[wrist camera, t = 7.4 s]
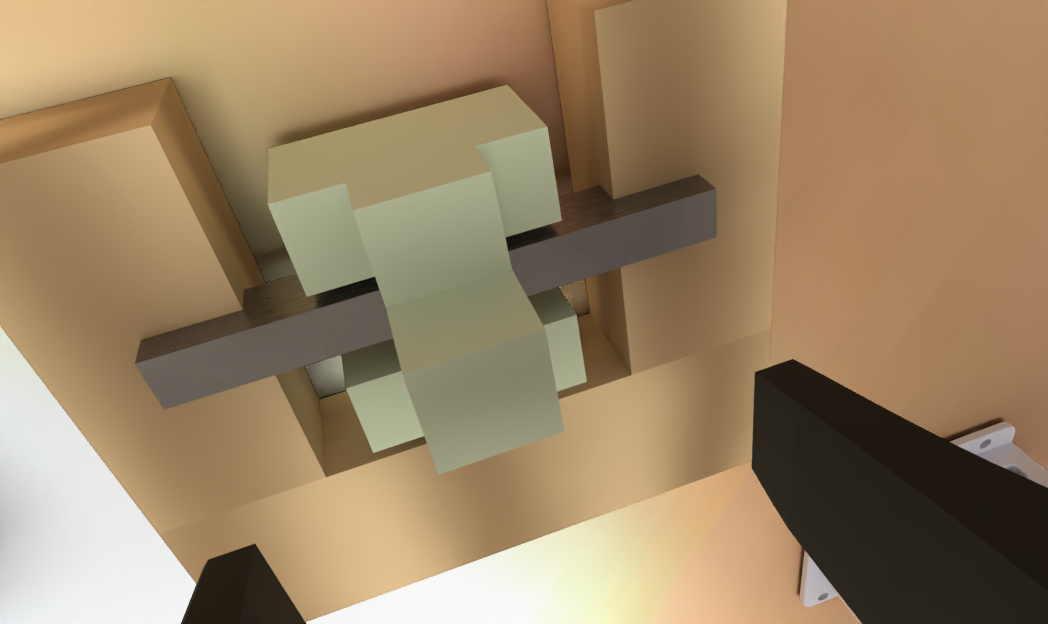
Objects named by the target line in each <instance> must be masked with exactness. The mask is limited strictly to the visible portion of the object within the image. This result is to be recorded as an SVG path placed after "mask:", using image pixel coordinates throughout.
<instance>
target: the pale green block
mask: <svg viewBox="0 0 1048 624" xmlns="http://www.w3.org/2000/svg"><path fill="white" fill-rule="evenodd" d="M267 205H268V207H269V209H270V212H271V214H272V216H273V219H274V221H275V223H276V226H277V228H278V230H279V233H280V235H281V238H282V240H283V242H284V245H285V247H286V249H287V252H288V254H289V256H290V259H291V261H292V263H293V266H294V268H295V270H296V273H297V275H298V277H299V280H300V282H301V284H302V287H303V289H304V291H305V294H306V296H307V297H308V296H311V295H315V294H318V293H321V292H325V291H328V290H331V289H335V288H338V287H341V286H345V285H348V284H351V283H355V282H358V281H361V280H365V279H368V278H371V277H375V278H376V281H377V284H378V287H379V289H380V292H381V295H382V298H383V301H384V304H385V307H386V310H387V314H388V318H389V322H390V326H391V331H392V335H393V338H392V339H389V340H386V341H383V342H380V343H376V344H373V345H370V346H367V347H364V348H360V349H357V350H354V351H351V352H348V353H344V354H341V356H342V363H343V371H344V378H345V385H346V390H347V392H348V395H349V397H350V399H351V402H352V404H353V406H354V409H355V411H356V413H357V416H358V418H359V420H360V423H361V425H362V427H363V430H364V432H365V434H366V437H367V439H368V442H369V444H370V446H371V449H372V451H373V453H375V452H378V451H381V450H384V449H387V448H390V447H393V446H396V445H399V444H402V443H405V442H408V441H411V440H414V439H417V438H420V437H423V436H424V437H425V440H426V442H427V445H428V448H429V451H430V454H431V456H432V459H433V462H434V465H435V468H436V470H437V473H438V475H440V474H443V473H446V472H448V471H451V470H454V469H457V468H460V467H463V466H466V465H469V464H472V463H475V462H478V461H481V460H484V459H486V458H489V457H492V456H495V455H498V454H501V453H504V452H507V451H510V450H513V449H516V448H519V447H521V446H524V445H527V444H530V443H533V442H536V441H539V440H542V439H545V438H548V437H551V436H554V435H557V434H559V433H562V432H565V430H564V425H563V420H562V415H561V409H560V404H559V399H558V393H557V391H560V390H563V389H566V388H569V387H572V386H575V385H578V384H581V383H584V382H587V380H586V373H585V367H584V360H583V354H582V347H581V341H580V334H579V328H578V321H577V315H576V313H575V312H574V310H573V309H572V307H571V306H570V304H569V302H568V301H567V299H566V298H565V296H564V295H563V293H562V292H561V290H560V288H559V287H556V288H553V289H549V290H546V291H543V292H540V293H537V294H533V295H530V296H527V295H526V294H525V292H524V290H523V288H522V286H521V285H520V283H519V281H518V279H517V277H516V276H515V274H514V272H513V270H512V267H511V262H510V257H509V253H508V248H507V243H506V238H505V237H509V236H512V235H515V234H519V233H522V232H525V231H529V230H532V229H535V228H539V227H542V226H545V225H549V224H552V223H555V222H559V221H562V218H561V211H560V205H559V198H558V192H557V185H556V179H555V172H554V166H553V159H552V153H551V147H550V140H549V134H548V127H547V126H546V124H545V123H544V122H543V121H542V120H541V119H540V118H539V117H538V116H537V115H536V114H535V113H534V112H533V111H532V110H531V109H530V108H529V107H528V106H527V105H526V104H525V103H524V102H523V100H522V99H521V98H520V97H519V96H518V95H517V94H516V93H515V92H514V91H513V90H512V89H511V88H510V87H509V86H508V85H504V86H500V87H497V88H493V89H489V90H486V91H482V92H478V93H474V94H471V95H467V96H463V97H459V98H456V99H452V100H448V101H444V102H441V103H437V104H433V105H430V106H426V107H422V108H418V109H415V110H411V111H407V112H403V113H400V114H396V115H392V116H389V117H385V118H381V119H377V120H374V121H370V122H366V123H362V124H359V125H355V126H351V127H347V128H344V129H340V130H336V131H333V132H329V133H325V134H321V135H318V136H314V137H310V138H306V139H303V140H299V141H295V142H292V143H288V144H284V145H280V146H277V147H273V148H269V149H268V198H267Z"/></svg>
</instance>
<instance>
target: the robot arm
mask: <svg viewBox="0 0 1048 624" xmlns="http://www.w3.org/2000/svg"><path fill="white" fill-rule="evenodd" d="M1014 434H1015V428H1014V426H1012V425H1011V424H1010V423H1008V422H1000V423H998V424H995V425H992V426H990V427H987V428H984V429H982V430H979V431H976V432H974V433H971V434H968V435H966V436H963V437H960V438H958V439H955V440H952V441H950V442H949V441H947V440H945V439H943V438H941V437H939V436H937V435H935V434H933V433H931V432H929V431H927V430H925V429H923V428H921V427H919V426H917V425H915V424H914V423H912V422H910V421H908V420H906V419H904V418H902V417H900V416H898V415H896V414H894V413H893V412H891V411H889V410H887V409H885V408H883V407H881V406H879V405H878V404H876V403H874V402H872V401H870V400H868V399H866V398H865V397H863V396H861V395H859V394H857V393H855V392H853V391H852V390H850V389H848V388H846V387H844V386H842V385H841V384H839V383H837V382H835V381H833V380H831V379H829V378H828V377H826V376H824V375H822V374H820V373H818V372H816V371H815V370H813V369H811V368H809V367H807V366H805V365H803V364H801V363H799V362H797V361H796V360H794V359H792V360H789V361H786V362H783V363H780V364H777V365H774V366H771V367H768V368H765V369H762V370H759V371H757V372H755V379H754V410H753V440H752V469H753V471H754V473H755V474H756V476H757V478H758V479H759V481H760V483H761V485H762V486H763V488H764V490H765V491H766V493H767V495H768V496H769V498H770V500H771V502H772V503H773V505H774V506H775V508H776V510H777V511H778V513H779V514H780V516H781V518H782V519H783V521H784V522H785V524H786V526H787V527H788V529H789V530H790V531H791V533H792V534H793V535H794V537H795V538H796V539H797V541H798V542H799V543H800V545H801V546H802V547H803V548H804V550H805V552H804V561H803V570H802V579H801V588H800V597H799V598H800V601H801V602H802V604H803V605H804V606H805V607H811V606H814V605H817V604H819V603H822V602H824V601H827V600H829V599H832V598H835V597H837V596H838V597H839V598H840V599H841V601H842V602H843V603H844V605H845V606H846V607H847V609H848V610H849V611H850V613H851V614H852V615H853V617H854V618H855V619H856V621H857V622H858V623H859V624H1048V471H1047V470H1046V469H1044V468H1043V467H1042V466H1041V465H1039V464H1038V463H1037V462H1036V461H1035V460H1033V459H1032V458H1031V457H1030V456H1028V455H1027V454H1026V453H1025V452H1023V451H1022V450H1021V449H1020V448H1019V447H1017V446H1016V445H1015V444H1014V443H1012V440H1013V437H1014ZM181 624H306V622H305V621H304V619H303V618H302V616H301V614H300V613H299V611H298V610H297V608H296V607H295V605H294V603H293V602H292V600H291V599H290V597H289V596H288V594H287V592H286V591H285V589H284V588H283V586H282V585H281V583H280V582H279V580H278V578H277V577H276V575H275V574H274V572H273V571H272V569H271V567H270V566H269V564H268V563H267V561H266V560H265V558H264V556H263V555H262V553H261V552H260V550H259V549H258V547H257V545H256V544H252V545H249V546H246V547H243V548H240V549H237V550H235V551H232V552H229V553H226V554H223V555H220V556H217V557H214V558H211V559H208V561H207V562H206V564H205V566H204V567H203V570H202V572H201V575H200V577H199V580H198V582H197V585H196V587H195V590H194V592H193V595H192V597H191V600H190V602H189V605H188V607H187V610H186V612H185V615H184V617H183V620H182V622H181Z"/></svg>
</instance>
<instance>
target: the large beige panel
mask: <svg viewBox="0 0 1048 624" xmlns="http://www.w3.org/2000/svg"><path fill="white" fill-rule="evenodd" d="M546 1H547V8H548V15H549V23H550V30H551V37H552V44H553V51H554V58H555V66H556V73H557V80H558V87H559V94H560V101H561V109H562V116H563V123H564V130H565V137H566V144H567V151H568V159H569V166H570V173H571V180H572V187H573V193H571V194H567V195H564V196H561V197H558V198H559V205H560V211H561V218H562V221H559V222H555V223H552V224H549V225H545V226H542V227H539V228H535V229H532V230H529V231H525V232H522V233H519V234H515V235H512V236H509V237H505V238H506V243H507V248H508V253H509V257H510V262H511V267H512V270H513V272H514V274H515V276H516V277H517V279H518V281H519V283H520V285H521V286H522V288H523V290H524V292H525V294H526V295H527V296H530V295H533V294H537V293H540V292H543V291H546V290H549V289H553V288H556V287H559V286H562V285H566V284H569V283H572V282H575V281H578V280H582V279H585V280H586V287H587V295H588V302H589V309H590V313H589V314H586V315H583V316H579V317H577V321H578V328H579V334H580V341H581V347H582V354H583V360H584V367H585V373H586V380H587V382H584V383H581V384H578V385H575V386H572V387H569V388H566V389H563V390H560V391H557V393H558V399H559V404H560V409H561V415H562V420H563V425H564V430H565V432H562V433H559V434H557V435H554V436H551V437H548V438H545V439H542V440H539V441H536V442H533V443H530V444H527V445H524V446H521V447H519V448H516V449H513V450H510V451H507V452H504V453H501V454H498V455H495V456H492V457H489V458H486V459H484V460H481V461H478V462H475V463H472V464H469V465H466V466H463V467H460V468H457V469H454V470H451V471H448V472H446V473H443V474H440V475H438V473H437V470H436V468H435V465H434V462H433V459H432V456H431V454H430V451H429V448H428V445H427V442H426V440H425V437H424V436H423V437H420V438H417V439H414V440H411V441H408V442H405V443H402V444H399V445H396V446H393V447H390V448H387V449H384V450H381V451H378V452H375V453H373V451H372V449H371V446H370V444H369V442H368V439H367V437H366V434H365V432H364V430H363V427H362V425H361V423H360V420H359V418H358V416H357V413H356V411H355V409H354V406H353V404H352V402H351V399H350V397H349V395H348V392H347V391H345V392H342V393H338V394H335V395H332V396H329V397H326V398H323V399H320V400H319V397H318V395H317V393H316V391H315V389H314V387H313V384H312V382H311V380H310V378H309V376H308V374H307V371H306V369H305V367H304V366H306V365H309V364H312V363H316V362H319V361H322V360H325V359H328V358H332V357H335V356H338V355H341V354H344V353H348V352H351V351H354V350H357V349H360V348H364V347H367V346H370V345H373V344H376V343H380V342H383V341H386V340H389V339H392V338H393V335H392V331H391V326H390V322H389V318H388V314H387V310H386V307H385V304H384V301H383V298H382V295H381V292H380V289H379V287H378V284H377V281H376V278H375V277H371V278H368V279H365V280H361V281H358V282H355V283H351V284H348V285H345V286H341V287H338V288H335V289H331V290H328V291H325V292H321V293H318V294H315V295H311V296H308V297H307V296H306V294H305V291H304V289H303V287H302V284H301V282H300V280H299V277H298V275H297V274H295V275H292V276H288V277H285V278H281V279H278V280H275V281H271V282H268V283H266V282H265V280H264V278H263V276H262V274H261V272H260V269H259V267H258V265H257V263H256V261H255V259H254V256H253V254H252V252H251V250H250V248H249V246H248V243H247V241H246V239H245V237H244V235H243V233H242V230H241V228H240V226H239V224H238V222H237V220H236V217H235V215H234V213H233V211H232V209H231V207H230V204H229V202H228V200H227V198H226V196H225V194H224V191H223V189H222V187H221V185H220V183H219V181H218V178H217V176H216V174H215V172H214V170H213V168H212V165H211V163H210V161H209V159H208V157H207V155H206V152H205V150H204V148H203V146H202V144H201V142H200V139H199V137H198V135H197V133H196V131H195V129H194V126H193V124H192V122H191V120H190V118H189V116H188V113H187V111H186V109H185V107H184V105H183V103H182V100H181V98H180V96H179V94H178V92H177V90H176V87H175V85H174V83H173V81H172V79H171V77H170V78H166V79H162V80H158V81H154V82H150V83H146V84H142V85H138V86H134V87H130V88H126V89H122V90H118V91H114V92H110V93H106V94H102V95H98V96H94V97H90V98H86V99H82V100H78V101H74V102H70V103H66V104H62V105H58V106H54V107H50V108H46V109H42V110H38V111H34V112H30V113H26V114H22V115H18V116H14V117H10V118H6V119H2V120H0V326H1V328H2V329H3V330H4V332H5V333H6V334H7V336H8V337H9V338H10V339H11V341H12V342H13V343H14V345H15V346H16V347H17V349H18V350H19V351H20V353H21V354H22V355H23V357H24V358H25V359H26V360H27V362H28V363H29V364H30V366H31V367H32V368H33V370H34V371H35V372H36V374H37V375H38V376H39V378H40V379H41V380H42V382H43V383H44V384H45V385H46V387H47V388H48V389H49V391H50V392H51V393H52V395H53V396H54V397H55V399H56V400H57V401H58V403H59V404H60V405H61V406H62V408H63V409H64V410H65V412H66V413H67V414H68V416H69V417H70V418H71V420H72V421H73V422H74V424H75V425H76V426H77V428H78V429H79V430H80V431H81V433H82V434H83V435H84V437H85V438H86V439H87V441H88V442H89V443H90V445H91V446H92V447H93V449H94V450H95V451H96V452H97V454H98V455H99V456H100V458H101V459H102V460H103V462H104V463H105V464H106V466H107V467H108V468H109V470H110V471H111V472H112V474H113V475H114V476H115V477H116V479H117V480H118V481H119V483H120V484H121V485H122V487H123V488H124V489H125V491H126V492H127V493H128V495H129V496H130V497H131V499H132V500H133V501H134V502H135V504H136V505H137V506H138V508H139V509H140V510H141V512H142V513H143V514H144V516H145V517H146V518H147V520H148V521H149V522H150V523H151V525H152V526H153V527H154V529H155V530H156V531H157V533H158V534H159V535H160V537H161V538H162V539H163V541H164V542H165V543H166V545H167V546H168V547H169V548H170V550H171V551H172V552H173V554H174V555H175V556H176V558H177V559H178V560H179V562H180V563H181V564H182V566H183V567H184V568H185V569H186V571H187V572H188V573H189V575H190V576H191V577H192V579H193V580H194V581H195V583H196V584H197V582H198V580H199V577H200V575H201V572H202V570H203V567H204V566H205V564H206V562H207V561H208V559H211V558H214V557H217V556H220V555H223V554H226V553H229V552H232V551H235V550H237V549H240V548H243V547H246V546H249V545H252V544H256V545H257V547H258V549H259V550H260V552H261V553H262V555H263V556H264V558H265V560H266V561H267V563H268V564H269V566H270V567H271V569H272V571H273V572H274V574H275V575H276V577H277V578H278V580H279V582H280V583H281V585H282V586H283V588H284V589H285V591H286V592H287V594H288V596H289V597H290V599H291V600H292V602H293V603H294V605H295V607H296V608H297V610H298V611H299V613H300V614H301V616H302V618H303V619H304V621H305V622H307V621H310V620H313V619H316V618H318V617H321V616H324V615H327V614H329V613H332V612H335V611H338V610H340V609H343V608H346V607H349V606H352V605H354V604H357V603H360V602H363V601H365V600H368V599H371V598H374V597H376V596H379V595H382V594H385V593H387V592H390V591H393V590H396V589H398V588H401V587H404V586H407V585H410V584H412V583H415V582H418V581H421V580H423V579H426V578H429V577H432V576H434V575H437V574H440V573H443V572H445V571H448V570H451V569H454V568H456V567H459V566H462V565H465V564H468V563H470V562H473V561H476V560H479V559H481V558H484V557H487V556H490V555H492V554H495V553H498V552H501V551H503V550H506V549H509V548H512V547H515V546H517V545H520V544H523V543H526V542H528V541H531V540H534V539H537V538H539V537H542V536H545V535H548V534H550V533H553V532H556V531H559V530H561V529H564V528H567V527H570V526H573V525H575V524H578V523H581V522H584V521H586V520H589V519H592V518H595V517H597V516H600V515H603V514H606V513H608V512H611V511H614V510H617V509H619V508H622V507H625V506H628V505H631V504H633V503H636V502H639V501H642V500H644V499H647V498H650V497H653V496H655V495H658V494H661V493H664V492H666V491H669V490H672V489H675V488H677V487H680V486H683V485H686V484H689V483H691V482H694V481H697V480H700V479H702V478H705V477H708V476H711V475H713V474H716V473H719V472H722V471H724V470H727V469H730V468H733V467H735V466H738V465H741V464H744V463H747V462H749V461H752V440H753V410H754V379H755V372H757V371H759V370H762V369H765V368H768V367H769V363H770V343H771V322H772V302H773V281H774V260H775V240H776V219H777V199H778V178H779V157H780V137H781V116H782V96H783V75H784V55H785V34H786V13H787V0H546Z"/></svg>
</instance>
